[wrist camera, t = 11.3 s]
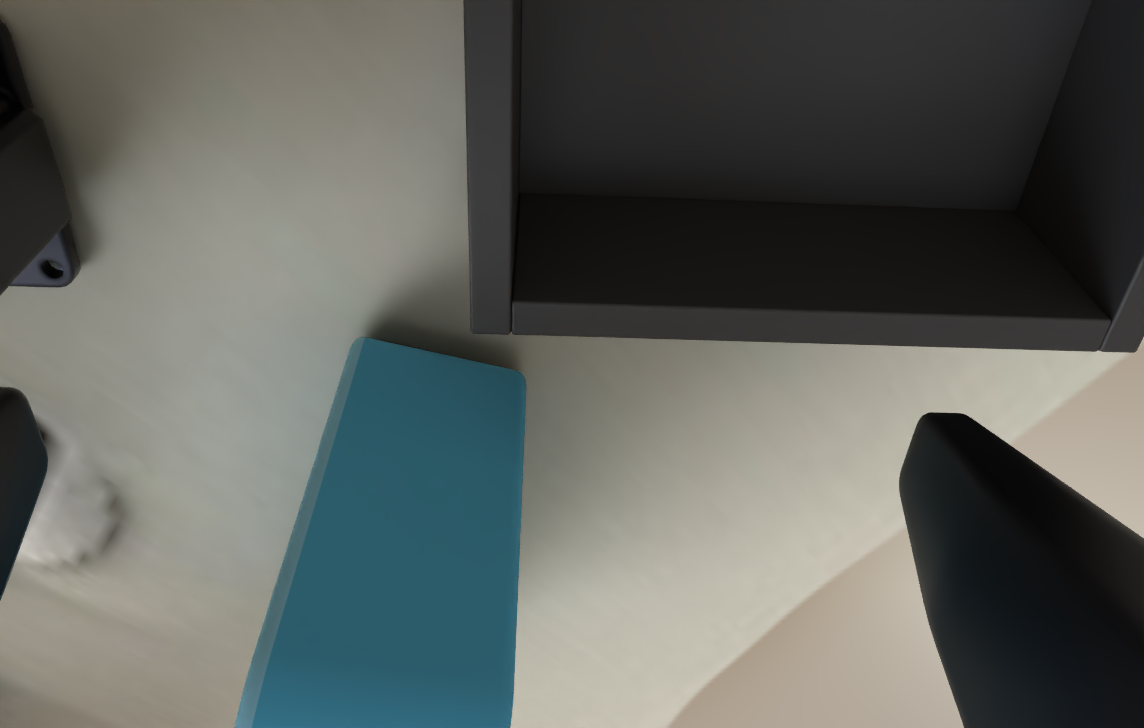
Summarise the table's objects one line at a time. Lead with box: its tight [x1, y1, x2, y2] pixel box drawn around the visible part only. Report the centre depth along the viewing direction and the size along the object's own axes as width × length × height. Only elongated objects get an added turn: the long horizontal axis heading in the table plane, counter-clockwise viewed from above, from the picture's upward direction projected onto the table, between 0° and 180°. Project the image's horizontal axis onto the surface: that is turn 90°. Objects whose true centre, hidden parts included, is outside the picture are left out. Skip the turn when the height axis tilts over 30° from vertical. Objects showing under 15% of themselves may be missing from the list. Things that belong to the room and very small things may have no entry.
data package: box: [234, 337, 526, 728], centre depth 23 cm, size 12×4×12 cm, turn 164°
